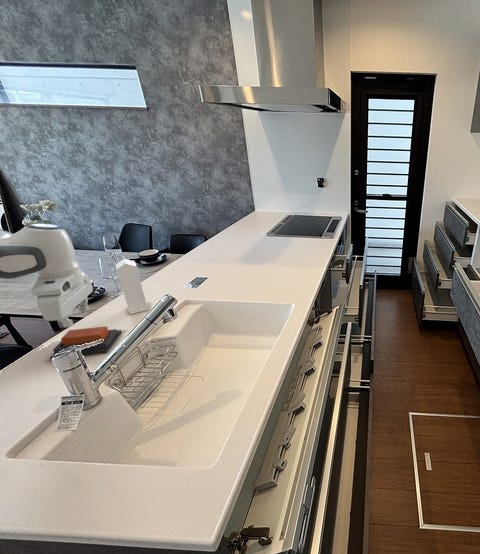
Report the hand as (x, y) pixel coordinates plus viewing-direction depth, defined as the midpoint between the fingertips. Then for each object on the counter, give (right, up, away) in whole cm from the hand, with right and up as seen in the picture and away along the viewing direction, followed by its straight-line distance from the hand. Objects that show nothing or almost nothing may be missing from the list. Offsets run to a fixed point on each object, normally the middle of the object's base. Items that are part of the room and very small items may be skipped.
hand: (76, 318), depth 95 cm
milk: (-1, 0, +26) cm, 26 cm away
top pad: (0, -9, +4) cm, 9 cm away
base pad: (0, -9, +4) cm, 10 cm away
